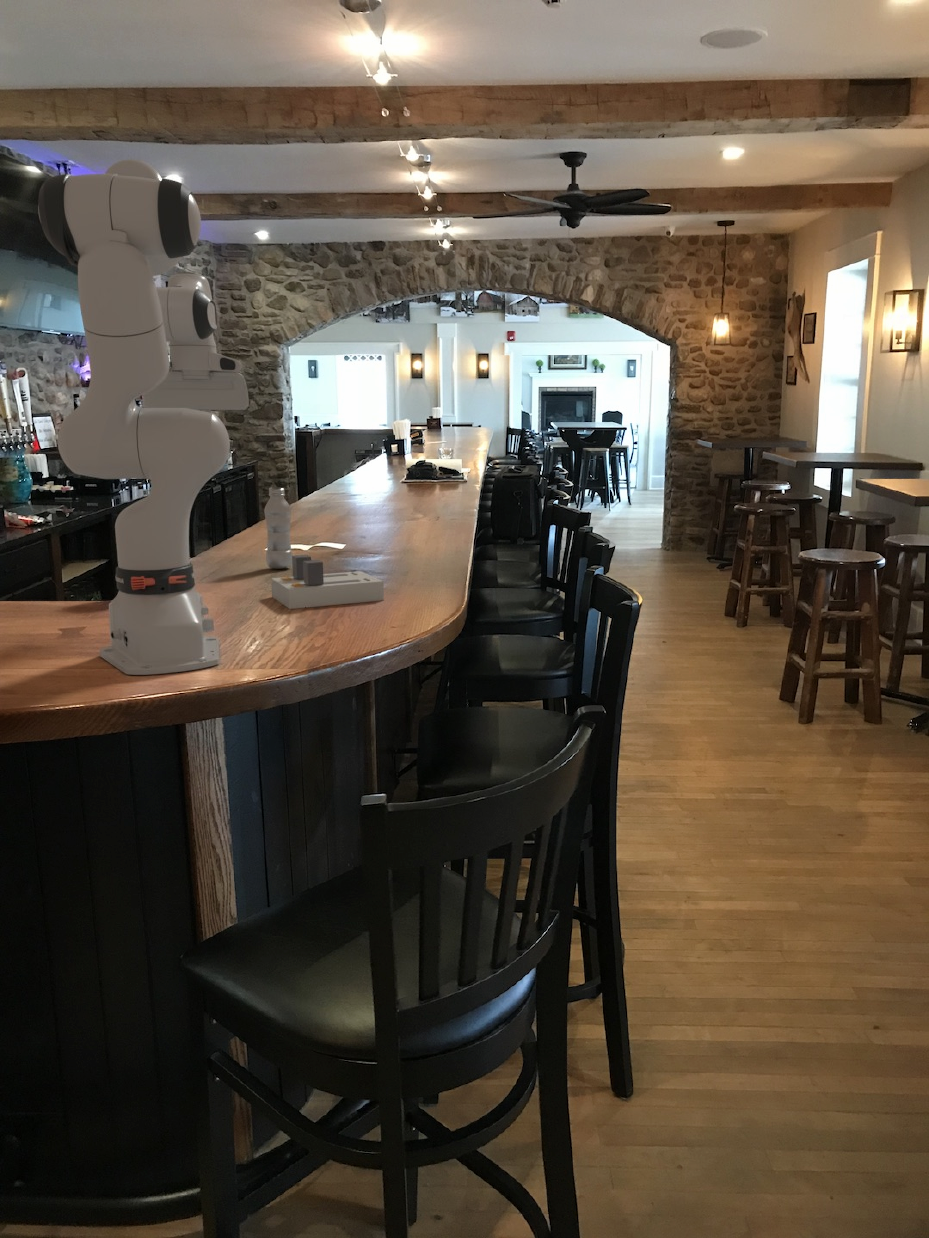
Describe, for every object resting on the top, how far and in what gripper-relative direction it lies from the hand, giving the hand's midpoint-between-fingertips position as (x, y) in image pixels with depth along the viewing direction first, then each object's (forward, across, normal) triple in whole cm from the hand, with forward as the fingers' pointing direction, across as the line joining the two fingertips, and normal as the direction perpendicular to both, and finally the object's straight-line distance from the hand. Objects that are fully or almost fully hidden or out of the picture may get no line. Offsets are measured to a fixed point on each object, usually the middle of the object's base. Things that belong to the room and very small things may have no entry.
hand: (198, 434), depth 186 cm
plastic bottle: (+34, +24, +34) cm, 54 cm away
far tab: (+30, +19, -4) cm, 36 cm away
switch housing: (+34, +23, -8) cm, 42 cm away
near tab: (+30, +19, -12) cm, 37 cm away
